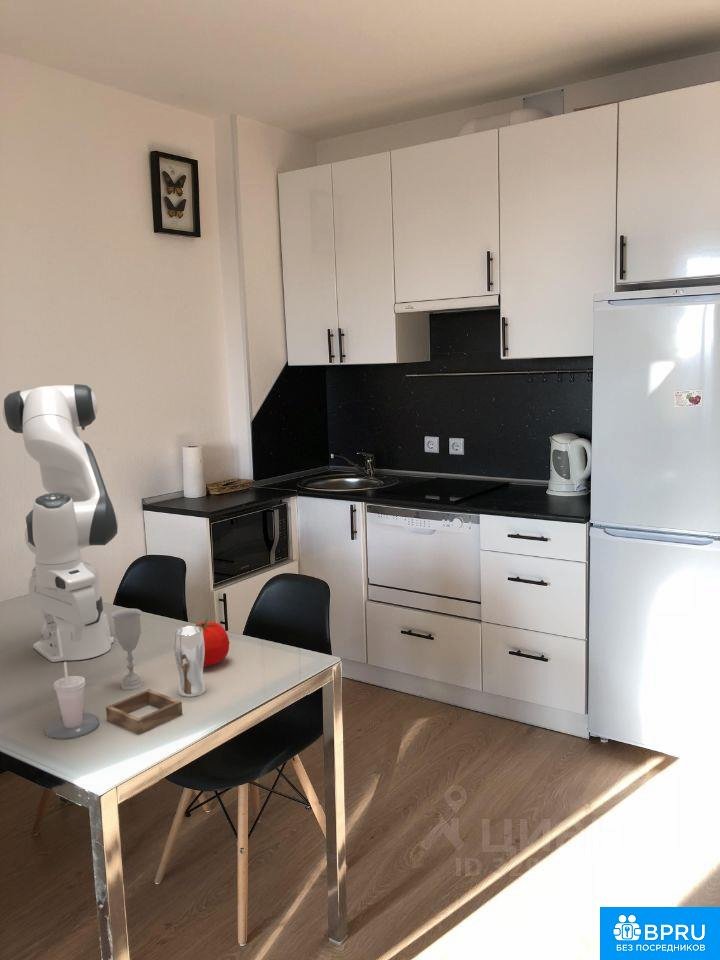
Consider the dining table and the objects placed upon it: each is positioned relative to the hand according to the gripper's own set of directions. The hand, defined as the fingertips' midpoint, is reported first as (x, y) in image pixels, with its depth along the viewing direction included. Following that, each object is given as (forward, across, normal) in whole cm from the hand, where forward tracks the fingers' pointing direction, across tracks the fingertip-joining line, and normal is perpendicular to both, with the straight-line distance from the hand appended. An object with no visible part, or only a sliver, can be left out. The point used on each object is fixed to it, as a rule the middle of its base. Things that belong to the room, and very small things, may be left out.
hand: (63, 635), depth 173 cm
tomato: (+21, -2, +40) cm, 45 cm away
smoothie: (+20, +1, 0) cm, 20 cm away
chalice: (+21, -7, +21) cm, 30 cm away
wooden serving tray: (+20, +10, +12) cm, 26 cm away
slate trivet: (+20, +1, 0) cm, 21 cm away
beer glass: (+20, +8, +27) cm, 35 cm away
